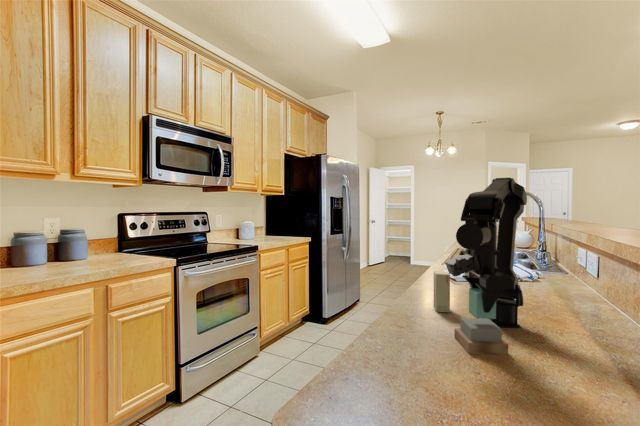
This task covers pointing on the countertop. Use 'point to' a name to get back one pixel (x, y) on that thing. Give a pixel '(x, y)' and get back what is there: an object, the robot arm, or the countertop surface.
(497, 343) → the bottom block
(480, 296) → the pillar block
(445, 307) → the skincare box
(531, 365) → the countertop surface
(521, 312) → the countertop surface
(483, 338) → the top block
